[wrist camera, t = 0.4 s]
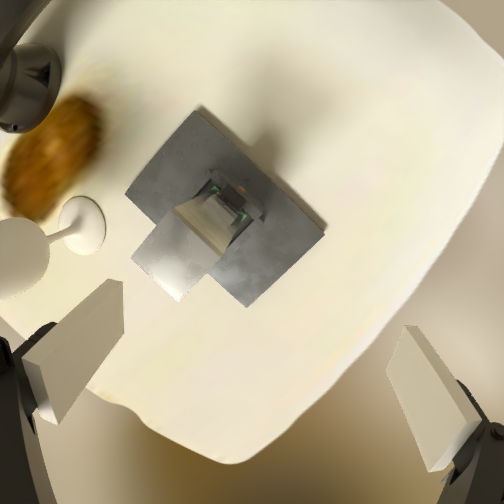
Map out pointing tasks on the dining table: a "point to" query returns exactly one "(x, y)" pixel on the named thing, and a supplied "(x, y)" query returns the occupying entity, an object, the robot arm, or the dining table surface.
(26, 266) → the wineglass
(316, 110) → the dining table surface
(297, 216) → the stand base
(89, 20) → the dining table surface
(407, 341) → the robot arm
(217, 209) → the column
